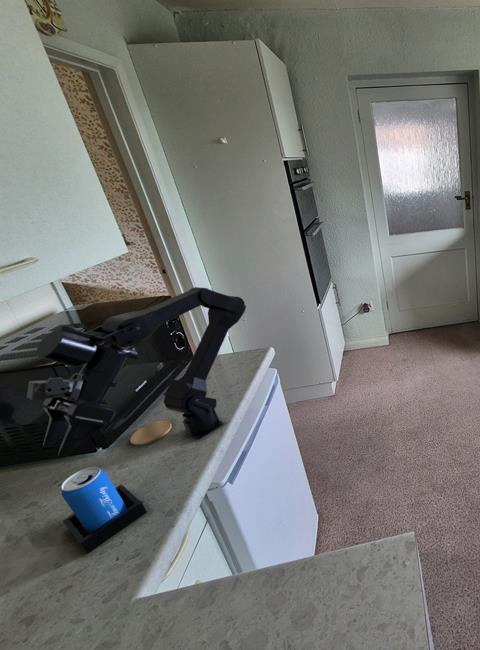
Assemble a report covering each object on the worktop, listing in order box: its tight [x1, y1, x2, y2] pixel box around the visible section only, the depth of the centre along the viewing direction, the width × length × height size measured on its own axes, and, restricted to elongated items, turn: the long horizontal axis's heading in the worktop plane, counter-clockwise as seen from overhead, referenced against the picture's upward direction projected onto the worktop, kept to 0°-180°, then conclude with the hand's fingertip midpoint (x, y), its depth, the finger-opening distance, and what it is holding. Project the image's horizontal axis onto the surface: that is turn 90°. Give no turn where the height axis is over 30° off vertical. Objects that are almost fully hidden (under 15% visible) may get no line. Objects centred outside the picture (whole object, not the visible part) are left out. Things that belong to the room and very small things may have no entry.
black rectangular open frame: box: [62, 484, 148, 554], centre depth 77 cm, size 10×10×3 cm
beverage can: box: [60, 466, 128, 534], centre depth 75 cm, size 6×6×12 cm
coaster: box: [129, 419, 173, 447], centre depth 102 cm, size 9×9×1 cm
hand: (53, 451), depth 73 cm, fingers open, 9 cm apart
